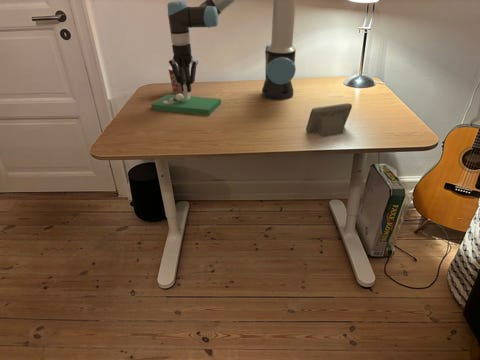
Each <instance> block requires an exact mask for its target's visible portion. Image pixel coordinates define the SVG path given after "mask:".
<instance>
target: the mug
mask: <svg viewBox="0 0 480 360" xmlns="http://www.w3.org/2000/svg"><path fill="white" fill-rule="evenodd" d="M176 65H177V64H176ZM167 68H168V73H169V79H170V83H171V87H172V92H173V94H172V95H177V94H179V93H180V94H182V95H183V96H184V92H183V91H182V86H181V84H180V83H177V81H176V78H175V75H174V72H173V69H172V66H171V65H170V66H168V67H167ZM177 68H178V65H177ZM178 71H179V69H178ZM184 73H185V71H184ZM185 81H186V80H185ZM185 84H186V83H185Z"/></svg>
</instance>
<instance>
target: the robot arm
mask: <svg viewBox="0 0 480 360" xmlns="http://www.w3.org/2000/svg"><path fill="white" fill-rule="evenodd" d="M236 1H237V0H204V1H203V2H202V3H201V4H200V5H199V6H187V5H188V4H187V2H186V1H183V0H173V1H170V2H168V3H167V17H168V22H169V24H168V25H169V30H170V31H169V32H170V39H171V44H172V45H171V47H172V48H171V49H172V53H173V56H172V59H169V61H168V63H169V65H170V66H172V69H173V72H174V75H175V78H176V81H177V83H180V84H181V86H182V91H183V92H184V97H185V100H188V99H190V96H191V93H190V92H192V84H193V83H195V81H196V79H195V78H196V73H197V66H198V63H199V61H198V60H195V59H194V58H193V55H192V48H191V47H192V46H191V43H190V42H191V39H190V37H191V36H190V29H191V28H192V29H193V28H216V27H217V26H218V24H219V16H220V15H221V14H222V13H223V12H224V11H225V10H227V9H228V8H229V7H230V6H231V5H232V4H234V3H236ZM296 1H297V0H273V1H272V2H273V3H272V5H273V6H272V21H271V22H272V23H271V24H272V25H271V40H270V41H271V44H268V45H266V46H265V51H264V53H265V71H264V72H265V79H264V82H263V86H262V89H261V97H263V98H265V99H269V100H274V101H275V100H276V101H282V100H287V99H290V98H292V97H293V96H294V88H293V83H292V81H291V80H293V78H294V77H295V75H296V68H297V67H296V63H295V61H296V52H297V51H296V50H297V49H296V48H295V47H294V46H293V43H294V42H293V41H294V40H293V39H294V30H295V29H294V27H295V15H296V3H297V2H296ZM177 65H178V68H177ZM190 65H191V67H190ZM178 69H179V71H178ZM184 71H185V73H184ZM185 80H186V81H185ZM185 83H186V84H185Z"/></svg>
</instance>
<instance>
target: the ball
mask: <svg viewBox="0 0 480 360" xmlns="http://www.w3.org/2000/svg"><path fill="white" fill-rule="evenodd" d="M176 99H177V101H182V100H183V99H184V96H183V95H182V94H180V93H179V94H177V95H176Z"/></svg>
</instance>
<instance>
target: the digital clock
mask: <svg viewBox="0 0 480 360" xmlns="http://www.w3.org/2000/svg"><path fill="white" fill-rule="evenodd" d="M352 107H353V105H352V103H348V102H346V103H339V104H332V105H331V104H330V105H326V106H325V105H323V106H317V107H313V108H312V109H311V111H310V114H309V117H308V121H307V125H306V127H305V131H306V132H307V133H316V134H317V135H318V136H320V138H325V137H329V136H330V137H331V136H332V137H333V136H336V135H343V134H344V130H345V125H346V123H347V121H348V119H349V116H350V113H351V111H352Z"/></svg>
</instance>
